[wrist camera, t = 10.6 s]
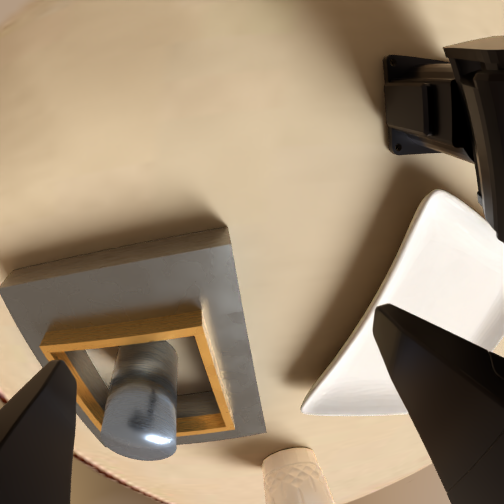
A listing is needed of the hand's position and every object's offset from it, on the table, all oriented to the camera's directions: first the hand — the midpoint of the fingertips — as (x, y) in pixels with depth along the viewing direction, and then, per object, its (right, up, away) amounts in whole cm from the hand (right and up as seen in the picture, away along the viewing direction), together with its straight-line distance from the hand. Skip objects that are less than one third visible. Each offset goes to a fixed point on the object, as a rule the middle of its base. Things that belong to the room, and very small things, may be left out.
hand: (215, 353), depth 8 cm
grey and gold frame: (-7, -6, +15) cm, 18 cm away
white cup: (+5, -23, +26) cm, 35 cm away
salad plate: (+18, -4, +19) cm, 26 cm away
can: (-7, -6, +15) cm, 18 cm away
